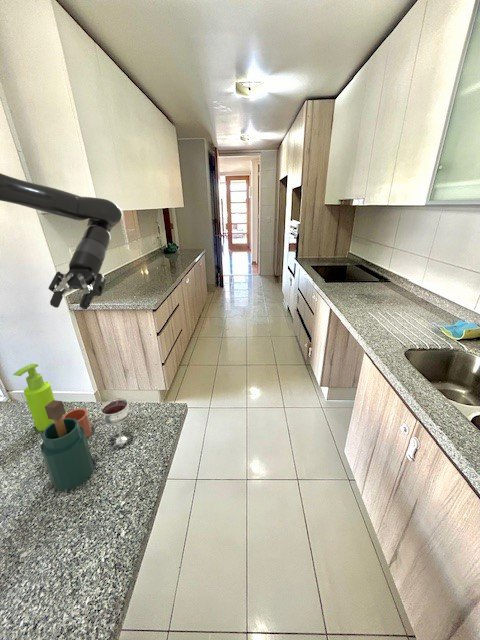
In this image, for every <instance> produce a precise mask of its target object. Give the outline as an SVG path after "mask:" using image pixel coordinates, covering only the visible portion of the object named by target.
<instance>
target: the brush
mask: <svg viewBox="0 0 480 640" xmlns="http://www.w3.org/2000/svg"><path fill="white" fill-rule="evenodd" d="M45 410H46V413H47V416H48V419H53V420H54V424H55V427H56V430H57V433H58V437H59V438H60V437H63V436H65V435H67V431H66V428H65V424H64V421H63V416H64V415H65V414H66V409H65V405H64V403H63V400H57V399H55V400H52V401H51V402H50V403H49V404H47V405H46V406H45Z"/></svg>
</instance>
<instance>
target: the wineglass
mask: <svg viewBox="0 0 480 640" xmlns="http://www.w3.org/2000/svg"><path fill="white" fill-rule="evenodd" d="M99 412H100V414H101V415H100V417H101V420H102V421H103V423H104V424H106V425H107V426H113V427H114V426H116V428H117V432H118V436H119V437H118V438H117V439H116V440H115V443H116V444H117V445H123V444H125V443H126V441H127V437H126V436H122V431H121V424H123V423H124V422H126V420H127V419H128V418H129V416H130V413H131V408H130V405H129V400H127V398H124V397H115V398H111V399H108V400H107V401H105V402H104V403H103V404H102V405H101V406H100V407H99Z"/></svg>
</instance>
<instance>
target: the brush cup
mask: <svg viewBox="0 0 480 640" xmlns="http://www.w3.org/2000/svg"><path fill="white" fill-rule="evenodd" d="M89 417H90V416H89V413H88V411H87V409H85V408H76V409H75V408H74V409H72V410H70V411H67V412H66V413H65V414H64V415H63V416H62V418H63V419H65V418H75V419H76V420H77V421H78V422H79V426H80V427H82V428H83V429H84V430H85V434H86V438H87V439H88V438H89V437H90V435H92V432H93V431H92V425H91V422H90V418H89Z"/></svg>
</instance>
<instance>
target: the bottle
mask: <svg viewBox="0 0 480 640" xmlns="http://www.w3.org/2000/svg"><path fill="white" fill-rule="evenodd" d="M63 421H64V424H65V428H66V431H67V435H65V436H63V437H60V438H59V437H58V433H57V430H56V427H55V424H54V423H52V424H50V425H49V426H48V427H47V428H45V429H44V430H43V431H42V434H41V440H42V443H41V444H40V451H41V454H42V457H43V460H44V463H45V466H46V469H47V471H48V475H49V477H50V480H51V483H52V486H53V487H54V488H55V489H56V490H58V491H68V490H71V489H75V488H77V487H79V486H80V485H82V484H83V483H84V482H85V481H87V480H88V479H89V477H90V476H91V475H92V473H93V471H94V461H93V458H92V454H91V450H90V446H89V442H88V438H86V434H85V430H84V429H83V428H82V427H80V426H79V422H78V421H77V420H76V419H75V418H65V419H63Z"/></svg>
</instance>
